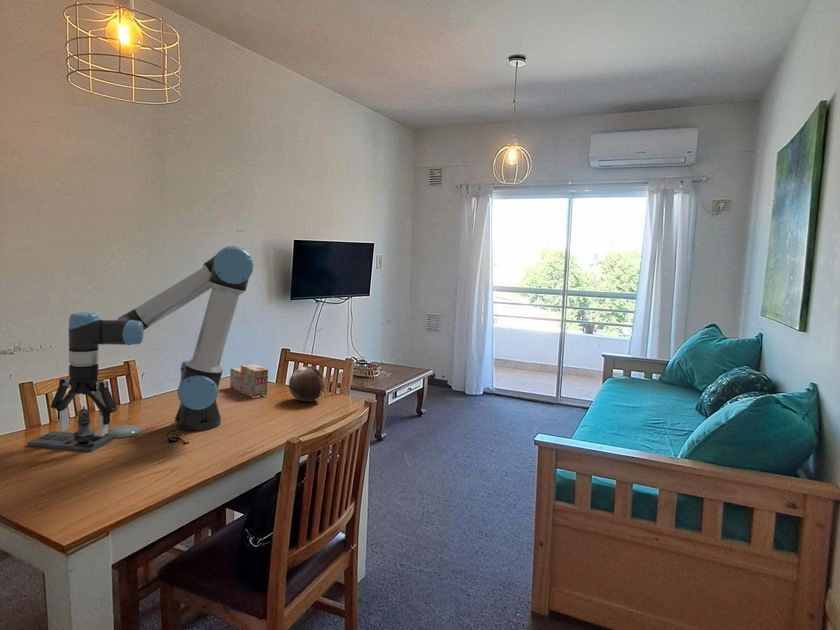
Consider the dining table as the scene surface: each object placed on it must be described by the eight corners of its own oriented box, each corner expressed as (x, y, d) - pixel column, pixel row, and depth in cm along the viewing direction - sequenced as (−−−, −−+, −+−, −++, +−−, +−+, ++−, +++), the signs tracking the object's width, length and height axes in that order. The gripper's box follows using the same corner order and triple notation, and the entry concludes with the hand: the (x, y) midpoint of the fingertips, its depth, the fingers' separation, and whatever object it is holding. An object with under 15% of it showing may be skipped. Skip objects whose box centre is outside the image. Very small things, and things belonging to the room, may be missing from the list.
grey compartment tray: (113, 440, 163) (113, 436, 163) (91, 451, 153) (91, 447, 153) (53, 434, 164) (53, 430, 164) (27, 445, 154) (27, 441, 154)
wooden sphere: (280, 400, 218) (282, 366, 216) (307, 394, 230) (308, 361, 229) (305, 408, 209) (306, 372, 208) (331, 401, 222) (333, 367, 220)
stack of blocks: (229, 388, 233) (230, 361, 232) (242, 386, 238) (243, 360, 236) (254, 398, 219) (255, 370, 217) (267, 396, 223) (268, 368, 222)
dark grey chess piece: (84, 448, 155) (84, 410, 154) (67, 446, 156) (67, 407, 155) (99, 442, 161) (99, 405, 159) (83, 439, 162) (83, 402, 160)
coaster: (147, 429, 175) (147, 426, 174) (129, 439, 165) (129, 436, 165) (119, 426, 175) (119, 424, 175) (99, 436, 165) (99, 434, 165)
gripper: (130, 364, 159) (129, 432, 161) (55, 358, 160) (55, 425, 162) (114, 369, 151) (113, 440, 153) (35, 362, 152) (36, 433, 155)
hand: (83, 432), depth 158 cm, fingers open, 12 cm apart
